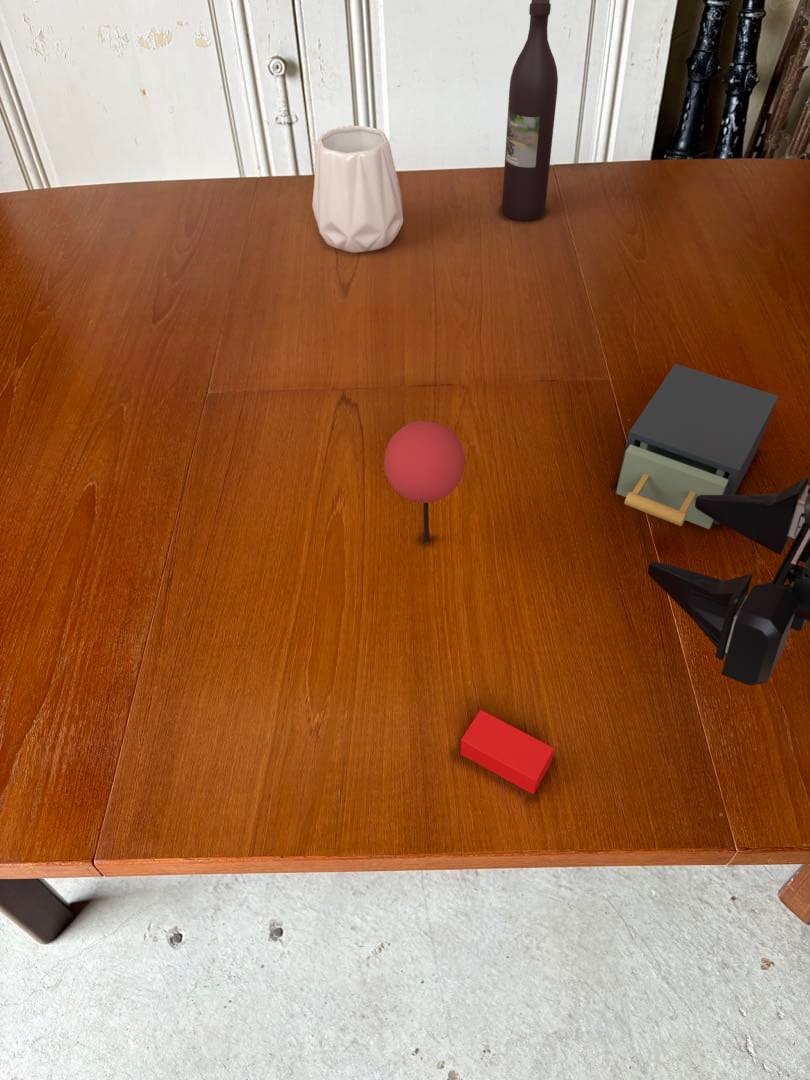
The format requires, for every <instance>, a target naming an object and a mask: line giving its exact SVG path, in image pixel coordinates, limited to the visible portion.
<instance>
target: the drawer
mask: <svg viewBox="0 0 810 1080" xmlns="http://www.w3.org/2000/svg"><path fill="white" fill-rule="evenodd" d="M624 452H625V451H624ZM623 457H624V456H623ZM622 461H623V460H622ZM621 465H622V464H621ZM620 470H621V469H620ZM619 474H620V473H619ZM729 474H730V473H728V472H726V471H723V470H720V469H717V468H714V467H711V466H709V465H706V464H703V463H700V462H697V461H695V460H692V459H689V458H686V457H683V456H681V455H678V454H675V453H672V452H669V451H666V450H664V449H661V448H658V447H655V446H652V445H650V444H647V443H644V442H641V443H640V447H636V446H633V445H631V444H630V445H629V447H628V448H627V450H626V452H625V457H624V461H623V465H622V470H621V474H620V478H619V477H618V478H619V483H618V482H617V483H618V487H617V486H616V490H615V491H616V492H615V494H616V495H619V496H622V497H624V498H625V499H624V502H623V503H624V505H625V506H627V507H629V508H633V509H635V510H638V511H640V512H643V513H646V514H648V515H651V516H653V517H655V518H658V519H660V520H661V519H662V520H664V521H665V522H668V523H671V524H673V525H677V526H679V527H683V524H684V522H689V523H691V524H694V525H697V526H699V527H702V528H704V529H707V530H710V528H711V527H712V525H713V524H714V523H713V521H714V519H712V518H710V517H709V516H707V515H706V514H704V513H703V512H701V511H699V510H698V509H696V508H695V502H696V498H697V497H698V496H699V495H723V494H724V491H725V488H726V486H727V483H728V477H729Z"/></svg>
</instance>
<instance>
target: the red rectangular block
mask: <svg viewBox="0 0 810 1080" xmlns="http://www.w3.org/2000/svg"><path fill="white" fill-rule="evenodd" d="M459 753H460V755H461V756H463V757H465V758H466V759H469V760H470V761H472V762H474V763H475V764H478V765H479V766H480V767H482V768H484V769H487V770H488V771H490V772H492V773H494V774H495V775H497V776H498V777H501V778H502V779H504V780H506V781H507V782H510V783H511V784H513V785H515V786H517V787H519V788H520V789H523V790H524V791H526V792H528V793H530V794H532V795H534V794H535V793H536V791H537V789H538V788H539V785H540V784H541V782H542V781H543V778H544V776H545V775H546V773H547V771H548V769H549V768H550V765H551V764H552V760H553V757H554V753H555V748H554V747H552V746H550V745H549V744H547V743H545V742H543V741H541V740H539V739H538V738H535V737H533V736H532V735H529V734H527V733H525V732H524V731H522V730H520V729H518V728H516V727H514V726H513V725H511V724H509V723H507V722H505V721H503V720H502V719H499V718H498V717H496V716H494V715H492V714H490V713H488V712H486V711H484V710H483V709H479V711H478V713H476V716H475V717H474V718H473V720H472V722H471V724H470V725H469V727H468V728H467V730H466V731H465V733H464V734H463V736H462V737H461V739H460V752H459Z"/></svg>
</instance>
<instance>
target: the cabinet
mask: <svg viewBox="0 0 810 1080" xmlns="http://www.w3.org/2000/svg"><path fill="white" fill-rule="evenodd" d="M778 399H779V395H776V394H773V393H771V392H768V391H765V390H764V391H763V390H761V389H758V388H754V387H751V386H747V385H745V384H741V383H737V382H734V381H732V380H729V379H726V378H722V377H719V376H716V375H714V374H713V375H712V374H709V373H706V372H704V371H700V370H697V369H694V368H690V367H687V366H685V365H681V364H677V363H674V364H673V366H672V368H671V369H670V370H669V372H668V373H667V375H666V377H664V380H663V381H662V382H661V384H660V385H659V387H658V389H657V390H656V391H655V393H654V394H653V395H652V397H651V399H650V400H649V402H648V403H647V404H646V406H645V407H644V409H643V410H642V412H641V413H640V415H639V417H638V418H637V419H636V420H635V421H634V424H633V425H632V427H631V428H630V429H629V432H628V435H627V440H626V445H625V447H624V453H623V457H622V462H621V466H620V471H619V474H618V479H617V484H616V488H617V487H618V483H619V478H620V474H621V470H622V465H623V461H624V457H625V452H626V450H627V448H628V447H629V445H630V444H631V445H633V446H636V447H640V443H641V442H644V443H647V444H650V445H652V446H655V447H658V448H661V449H664V450H666V451H669V452H672V453H675V454H678V455H681V456H683V457H686V458H689V459H692V460H695V461H697V462H700V463H703V464H706V465H709V466H711V467H714V468H717V469H720V470H723V471H726V472H728V473H730V474H729V477H728V483H727V486H726V488H725V491H724V494H723V495H736V493H737V491H738V489H739V487H740V485H741V484H742V481H743V480H744V477H745V475H746V474H747V471H748V470H749V467H750V466H751V463H752V462H753V459H754V458H755V456H756V454H757V452H758V449H759V447H760V444H761V442H762V440H763V436H764V434H765V432H766V429H767V427H768V425H769V421H770V419H771V417H772V414H773V412H774V409H775V407H776V404H777V401H778ZM712 524H714V525H717V526H720V524H721V523H719V522H717V521H716V520H714V521H713V523H712Z"/></svg>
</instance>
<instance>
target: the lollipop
mask: <svg viewBox="0 0 810 1080" xmlns="http://www.w3.org/2000/svg"><path fill="white" fill-rule="evenodd" d="M383 458H384V460H383V466H384V467H383V468H384V473H385V476H386V479H387V481H388V483H389V484H390V486H391V488H392V489H394V491H395V492H397V494H399V495H400V496H401V497H403V498H404V499H407V500H409V501H412V502H415V503H422V509H423V511H422V513H423V533H424V535H423V537H424V538H423V542H426V543H428V542H430V541H431V538H430V520H429V519H430V517H429V513H430V512H429V503H435V502H438V501H441V500H443V499H445V498H447V496H449V495H451V493H453V492H454V490H455V489H456V488H457V487H458V485H459V483H460V482H461V480H462V478H463V474H464V471H465V466H466V455H465V450H464V447H463V444H462V442H461V440H460V438H459V437H458V435H457V434H456V433H455V432H454V431H452V429H450V428H449V427H447V426H446V425H443V424H442V423H439V422H436V421H433V420H418V421H413V422H409V423H408V424H406V425H404V426H402V427H401V428H400V429H398V430H397V431H396V432H395V433H394V434H393V435H392V437H391V438H390V440H389V442H388V444H387V446H386V449H385V453H384V457H383Z"/></svg>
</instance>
